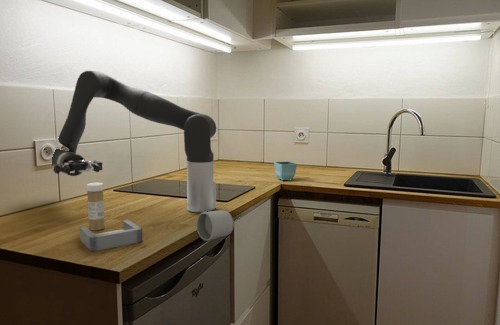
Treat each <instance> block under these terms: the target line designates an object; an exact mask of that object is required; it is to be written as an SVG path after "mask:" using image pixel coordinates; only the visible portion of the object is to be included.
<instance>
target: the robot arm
mask: <svg viewBox="0 0 500 325" xmlns="http://www.w3.org/2000/svg"><path fill="white" fill-rule="evenodd" d="M94 98H100V99H105V100H106V99H107V100H109V101H113V102H116V103H118V104H120V105H122V106H123V107H124V108H125V109H127V110H128V111H129V112H130V113H132V114H133V115H135V116H137V117H140V118H143V119H144V120H147V121H149V122H150V121H151V122H154V123H157V124H160V125H161V124H162V125H165V126H170V127H175V128H178V129H179V130H182V131H183V138H184V139H183V140H184V142H183V143H184V153H185V156H186V196H187V197H186V199H187V200H186V208H187V211H188V212H193V213H202V212H207V211H208V212H210V211H214V210H216V209H217V183H216V181H215V180H214V179H215V178H214V173H215V172H214V171H215V170H214V165H215V164H214V161H215V160H214V156H215V155H214V153H213V151H212V146H211V144H212V143H211V140H212V138H213V137H214V136H215V134H216V133H217V124H216V122H215V121H214V119H213V117H211V116H209V115H208V114H203V113H199V112H196V111H193V110H189V109H187V108H184V107H182V106H180V105H178V104H176V103H174V102H172V101H169V100H168V99H166V98H163V97H161V96H159V95H157V94H154V93H152V92H149V91H147V90H144V89H141V88H139V87H135V86H132V85H128V84H125V83H124V82H121V81H119V80H117V79H116V78H113V77H112V76H110V75H108V74H106V73H104V72H101V71H94V70H85V71H83V72H81V73H80V74H79V76H78V78H77V81H76V84H75V87H74V91H73V96H72V99H71V103H70V108H69V111H68V113H67V116H66V119H65V122H64V124H63V126H62V129H61V130H60V133H59V134H58V137H59V138H57V140H59V141H58V143H59V144H60V145H61V146H64V148H68V149H67V150H69V151H63V150H60V149H56V150H55V152H54V154H53V157H52V166H51V167H52V171H53V172H54V173H55V174H57V175H58V174H60V173H62V174H63V175H64V174H66V175H67V176H70V177H76V176H79V175H81V174H83V172H84V173H85V172H86V173H91V172H95V173H100V171H103V162H102V161H98V160H93V161H91V160H86V159H85V158H84V157H83V156H82V155H80V154H79V153H77V150H78V146H79V143H80V141H81V138H82V137H83V134H84V133H85V129H86V123H87V121H86V120H87V111H88V108H89V106H90V104H91V102H92V101H93V99H94ZM215 208H216V209H215Z"/></svg>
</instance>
